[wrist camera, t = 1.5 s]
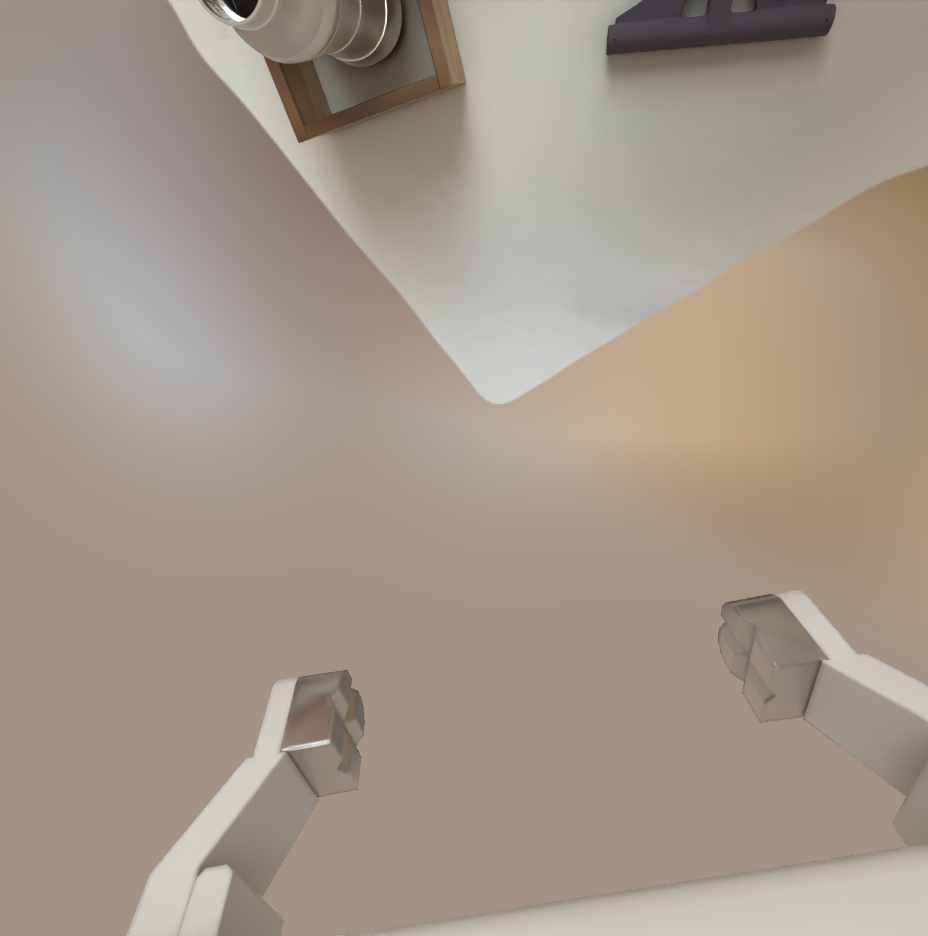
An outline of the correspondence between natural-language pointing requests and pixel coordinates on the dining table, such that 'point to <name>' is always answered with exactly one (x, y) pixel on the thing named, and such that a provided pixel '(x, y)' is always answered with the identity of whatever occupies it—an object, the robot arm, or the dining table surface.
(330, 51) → the metal bottle
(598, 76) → the dining table surface
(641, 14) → the squeegee
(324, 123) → the wooden box
